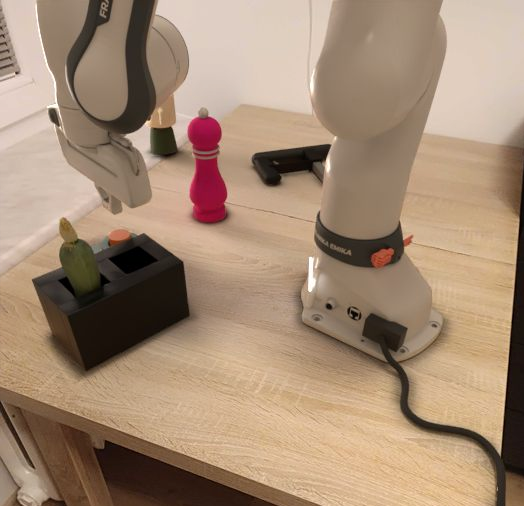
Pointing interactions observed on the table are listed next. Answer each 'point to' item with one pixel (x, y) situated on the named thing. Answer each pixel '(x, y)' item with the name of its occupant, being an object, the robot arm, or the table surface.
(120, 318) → the toaster
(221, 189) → the pepper mill
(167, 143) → the character mug
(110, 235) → the button
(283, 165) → the door handle
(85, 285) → the vegetable
